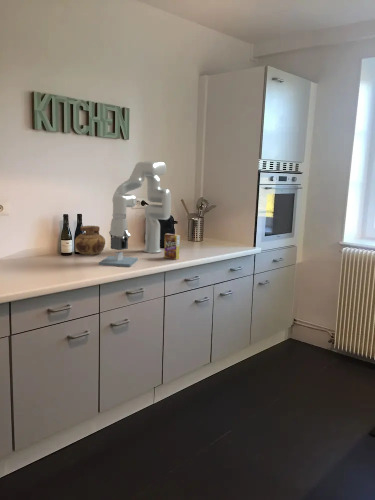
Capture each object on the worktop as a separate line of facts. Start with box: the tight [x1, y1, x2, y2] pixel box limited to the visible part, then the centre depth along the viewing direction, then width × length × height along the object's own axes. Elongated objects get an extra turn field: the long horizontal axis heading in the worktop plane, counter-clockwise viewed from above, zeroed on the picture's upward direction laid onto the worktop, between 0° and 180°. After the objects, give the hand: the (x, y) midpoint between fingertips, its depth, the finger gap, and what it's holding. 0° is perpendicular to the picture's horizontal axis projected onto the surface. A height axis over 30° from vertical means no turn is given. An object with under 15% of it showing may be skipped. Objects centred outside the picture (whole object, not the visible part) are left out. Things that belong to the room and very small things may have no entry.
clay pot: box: [74, 225, 106, 256], centre depth 277 cm, size 19×19×20 cm
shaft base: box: [98, 251, 139, 268], centre depth 256 cm, size 20×18×6 cm
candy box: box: [163, 233, 181, 261], centre depth 273 cm, size 9×4×15 cm, turn 60°
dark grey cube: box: [110, 236, 129, 251], centre depth 255 cm, size 7×7×7 cm
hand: (119, 246), depth 255 cm, fingers closed on dark grey cube, 7 cm apart
